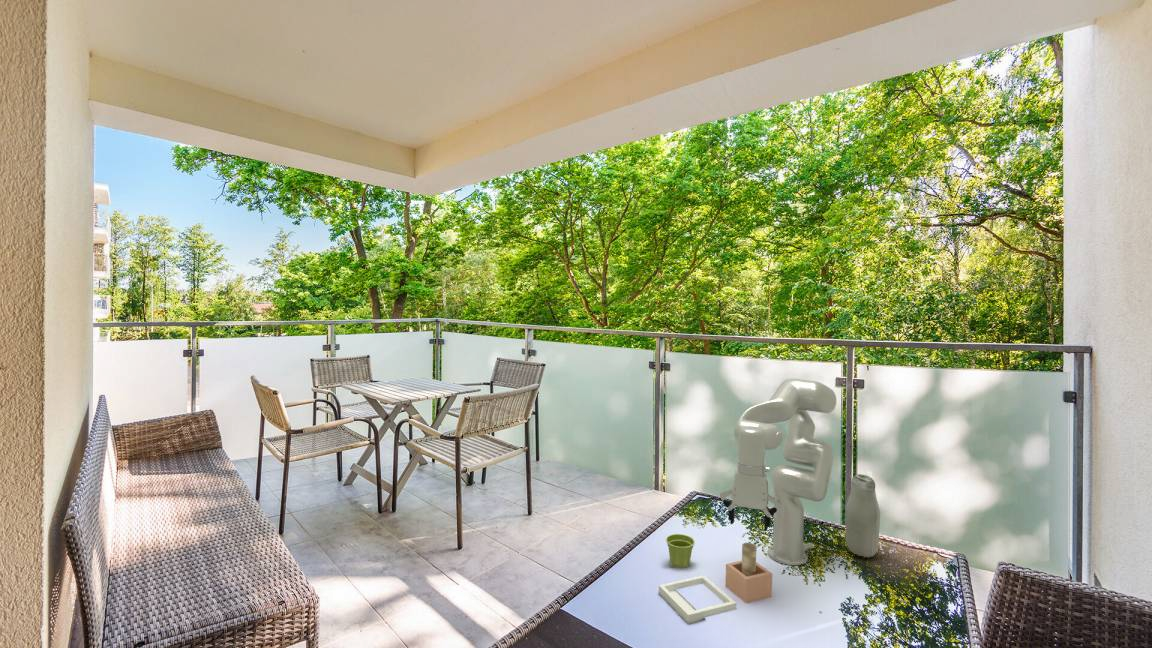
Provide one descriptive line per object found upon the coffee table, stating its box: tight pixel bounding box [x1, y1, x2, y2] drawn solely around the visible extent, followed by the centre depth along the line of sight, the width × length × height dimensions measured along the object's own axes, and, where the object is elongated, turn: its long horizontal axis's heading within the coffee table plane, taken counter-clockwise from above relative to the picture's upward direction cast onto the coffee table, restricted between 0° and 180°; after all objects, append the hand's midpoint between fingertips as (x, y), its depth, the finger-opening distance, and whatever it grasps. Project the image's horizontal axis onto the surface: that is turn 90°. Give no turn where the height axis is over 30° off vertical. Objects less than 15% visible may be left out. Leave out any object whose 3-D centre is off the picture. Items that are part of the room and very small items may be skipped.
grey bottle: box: [845, 473, 881, 558], centre depth 184 cm, size 10×10×28 cm
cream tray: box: [658, 574, 737, 625], centre depth 156 cm, size 16×16×3 cm
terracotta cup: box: [725, 560, 773, 604], centre depth 160 cm, size 9×9×8 cm
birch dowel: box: [741, 542, 757, 576], centre depth 160 cm, size 4×4×14 cm
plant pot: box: [665, 533, 696, 569], centre depth 177 cm, size 9×9×9 cm
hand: (748, 525), depth 159 cm, fingers open, 9 cm apart
